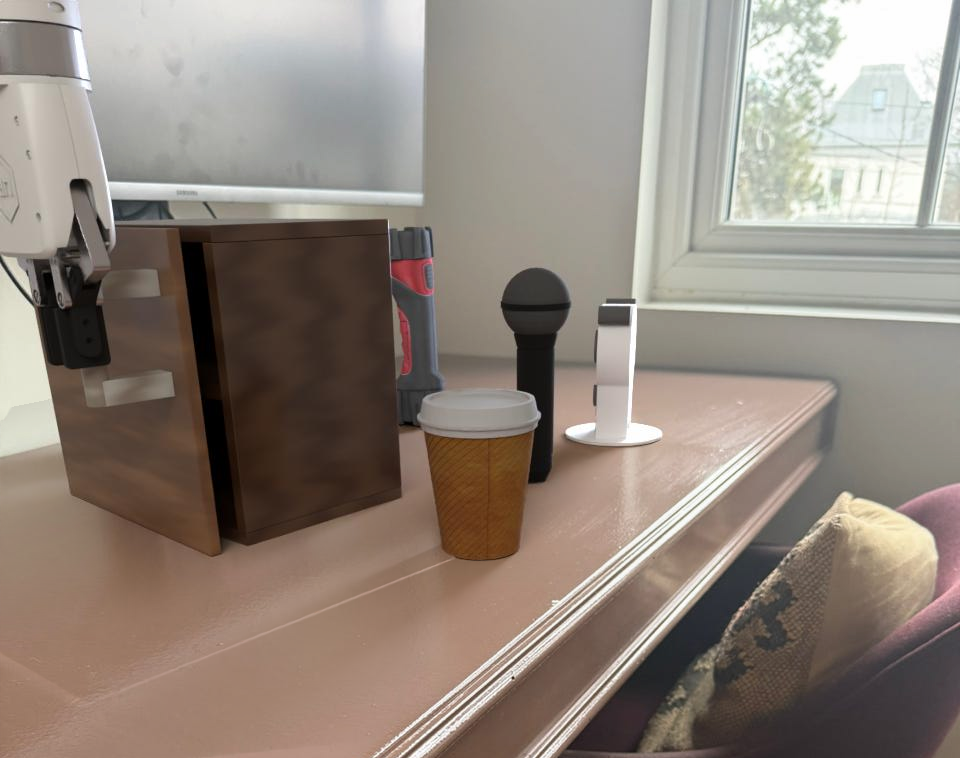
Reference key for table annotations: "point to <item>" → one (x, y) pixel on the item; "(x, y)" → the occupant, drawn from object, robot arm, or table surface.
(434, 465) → the disposable coffee cup
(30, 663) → the table surface
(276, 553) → the table surface
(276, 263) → the cupboard
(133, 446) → the cupboard door
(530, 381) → the microphone
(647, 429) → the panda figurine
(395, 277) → the flashlight
